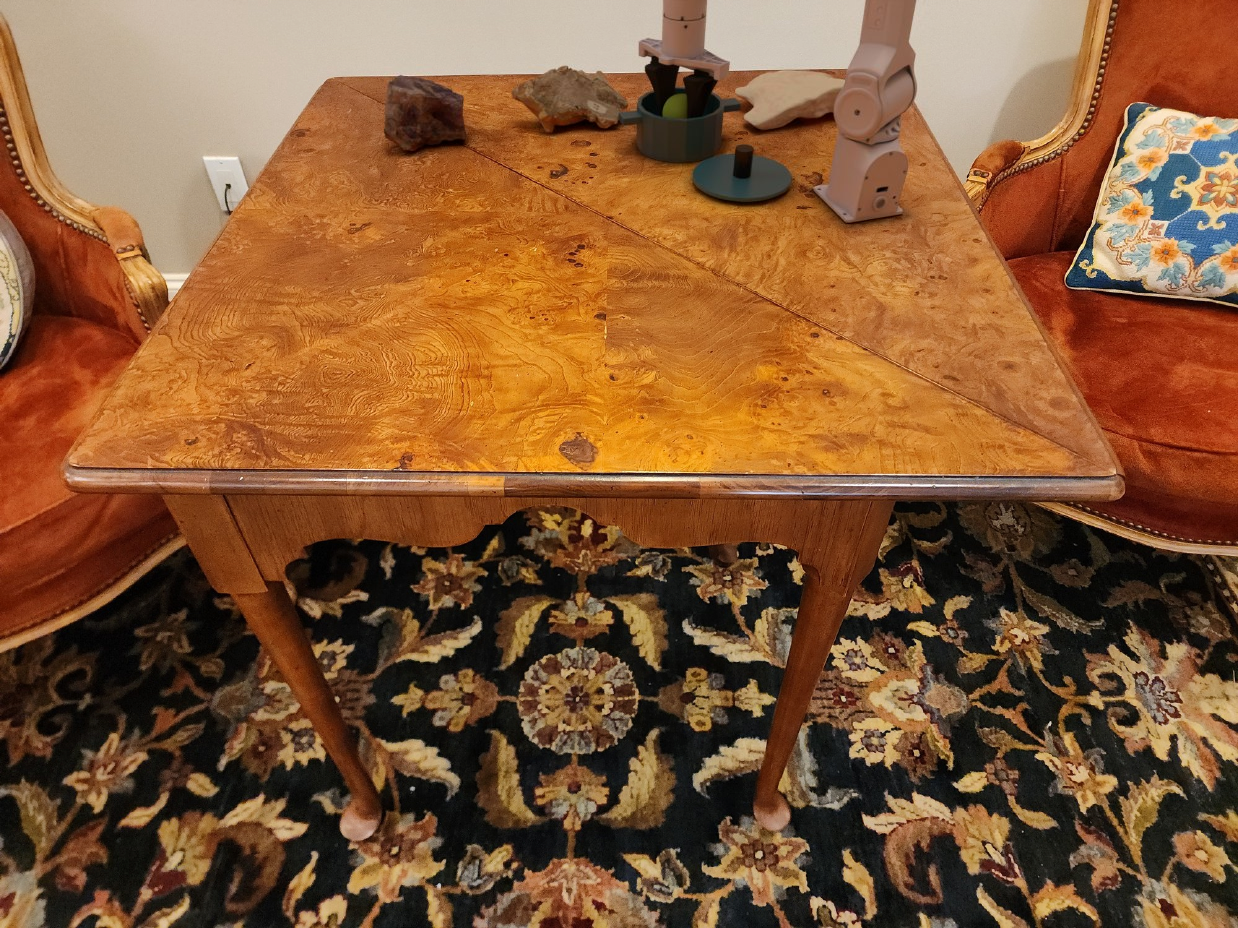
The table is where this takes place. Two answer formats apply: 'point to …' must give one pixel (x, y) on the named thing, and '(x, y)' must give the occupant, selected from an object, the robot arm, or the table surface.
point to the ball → (676, 107)
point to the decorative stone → (789, 97)
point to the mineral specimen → (571, 98)
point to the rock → (422, 113)
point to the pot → (678, 129)
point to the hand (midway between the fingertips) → (679, 120)
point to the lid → (742, 176)
